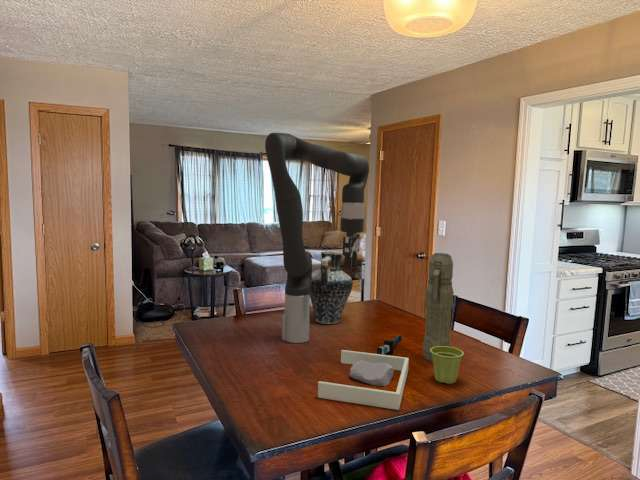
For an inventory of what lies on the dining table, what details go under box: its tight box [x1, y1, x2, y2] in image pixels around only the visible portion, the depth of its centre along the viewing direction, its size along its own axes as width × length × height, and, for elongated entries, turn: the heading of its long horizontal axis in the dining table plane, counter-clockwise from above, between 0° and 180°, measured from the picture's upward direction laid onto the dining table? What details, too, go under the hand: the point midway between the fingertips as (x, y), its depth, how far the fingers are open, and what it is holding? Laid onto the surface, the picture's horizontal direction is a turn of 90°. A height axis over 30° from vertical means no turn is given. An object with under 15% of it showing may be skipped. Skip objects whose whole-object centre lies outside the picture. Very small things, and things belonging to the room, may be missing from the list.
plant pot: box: [430, 346, 465, 385], centre depth 128 cm, size 9×9×9 cm
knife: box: [376, 334, 403, 355], centre depth 153 cm, size 31×3×4 cm, turn 152°
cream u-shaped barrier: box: [317, 349, 410, 411], centre depth 125 cm, size 21×27×4 cm
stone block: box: [349, 360, 395, 387], centre depth 129 cm, size 12×5×10 cm
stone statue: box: [422, 252, 454, 363], centre depth 145 cm, size 9×12×35 cm
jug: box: [310, 250, 354, 325], centre depth 186 cm, size 21×19×30 cm
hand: (350, 267), depth 142 cm, fingers open, 8 cm apart
